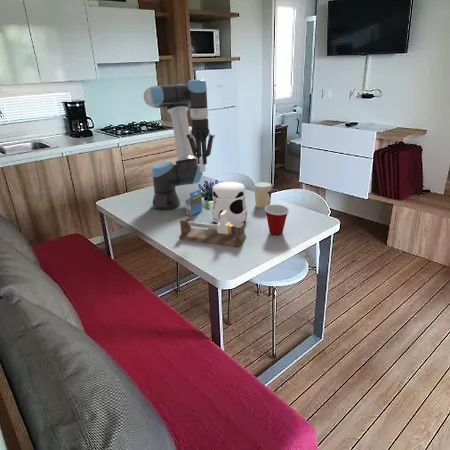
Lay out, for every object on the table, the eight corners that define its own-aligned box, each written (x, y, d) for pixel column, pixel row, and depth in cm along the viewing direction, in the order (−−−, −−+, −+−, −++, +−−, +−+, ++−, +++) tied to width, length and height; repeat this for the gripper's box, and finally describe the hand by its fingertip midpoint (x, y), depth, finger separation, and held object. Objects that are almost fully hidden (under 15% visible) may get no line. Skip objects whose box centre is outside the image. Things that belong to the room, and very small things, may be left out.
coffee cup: (272, 208, 192) (272, 186, 187) (254, 209, 192) (254, 187, 188) (270, 202, 201) (270, 181, 196) (253, 202, 201) (253, 182, 196)
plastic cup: (282, 240, 157) (283, 214, 153) (260, 235, 163) (260, 210, 158) (292, 230, 166) (293, 206, 161) (270, 226, 171) (271, 202, 166)
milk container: (207, 218, 183) (205, 184, 176) (238, 212, 189) (237, 179, 182) (220, 231, 168) (218, 194, 161) (253, 224, 174) (253, 188, 167)
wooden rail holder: (179, 239, 162) (177, 222, 159) (188, 230, 171) (187, 214, 168) (239, 247, 153) (238, 230, 150) (246, 237, 161) (246, 220, 158)
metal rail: (183, 228, 163) (183, 220, 162) (187, 225, 166) (186, 217, 165) (238, 234, 154) (238, 227, 153) (241, 231, 157) (241, 223, 156)
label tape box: (196, 209, 196) (195, 187, 191) (202, 210, 193) (201, 188, 188) (186, 214, 189) (184, 192, 184) (192, 216, 187) (190, 193, 182)
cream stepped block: (216, 233, 157) (215, 214, 153) (221, 228, 161) (220, 209, 158) (227, 234, 155) (226, 215, 152) (231, 230, 160) (230, 211, 156)
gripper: (181, 119, 156) (186, 172, 165) (209, 119, 151) (212, 174, 161) (189, 116, 162) (193, 168, 172) (216, 117, 158) (219, 170, 167)
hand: (202, 171), depth 166 cm, fingers closed
